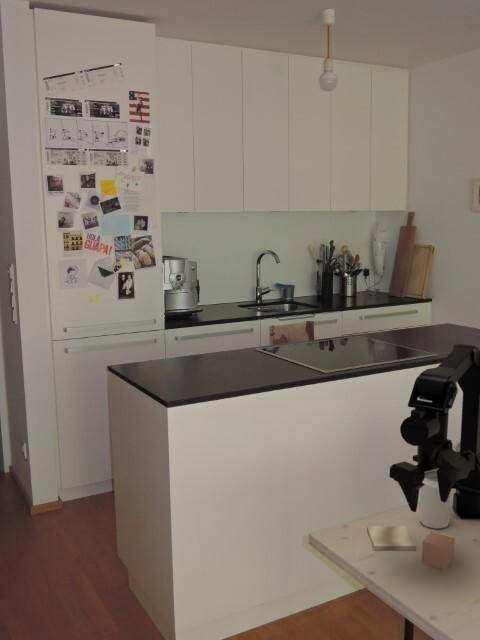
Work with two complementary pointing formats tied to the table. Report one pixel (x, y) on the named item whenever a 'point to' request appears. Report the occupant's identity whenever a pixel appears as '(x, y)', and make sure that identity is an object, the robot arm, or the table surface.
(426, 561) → the cube
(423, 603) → the table surface
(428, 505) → the can
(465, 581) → the table surface
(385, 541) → the coaster
